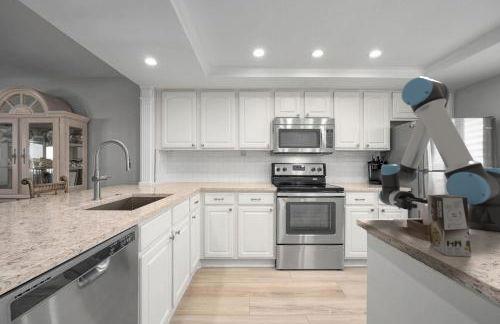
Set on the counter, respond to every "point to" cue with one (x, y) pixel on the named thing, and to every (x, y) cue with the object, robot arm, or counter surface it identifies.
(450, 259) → the counter surface
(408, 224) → the caddy
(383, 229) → the counter surface
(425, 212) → the smoothie
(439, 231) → the coffee box
